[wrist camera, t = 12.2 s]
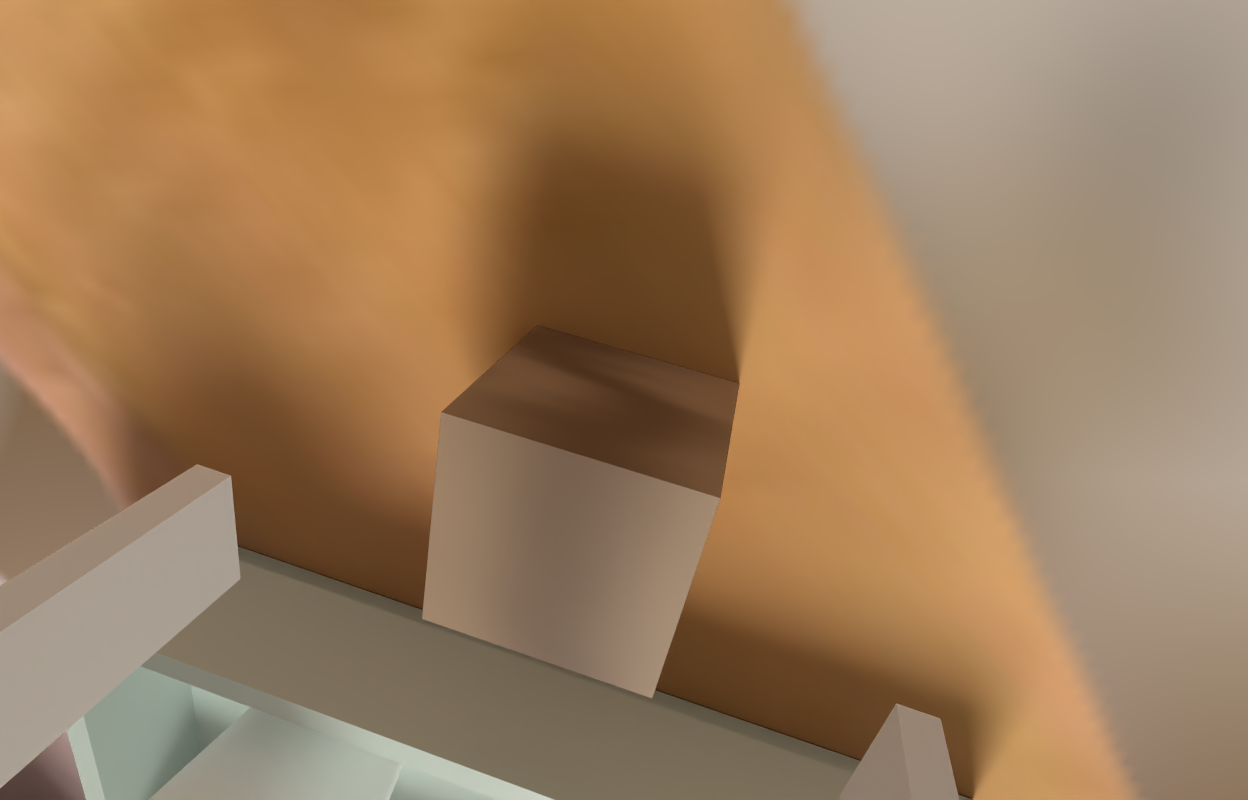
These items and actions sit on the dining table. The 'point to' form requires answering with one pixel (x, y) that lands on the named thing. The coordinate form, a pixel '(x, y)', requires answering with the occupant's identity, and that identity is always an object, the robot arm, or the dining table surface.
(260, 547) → the dining table surface
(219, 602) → the tote
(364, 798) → the foam cup
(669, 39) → the dining table surface
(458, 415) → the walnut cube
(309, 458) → the dining table surface
